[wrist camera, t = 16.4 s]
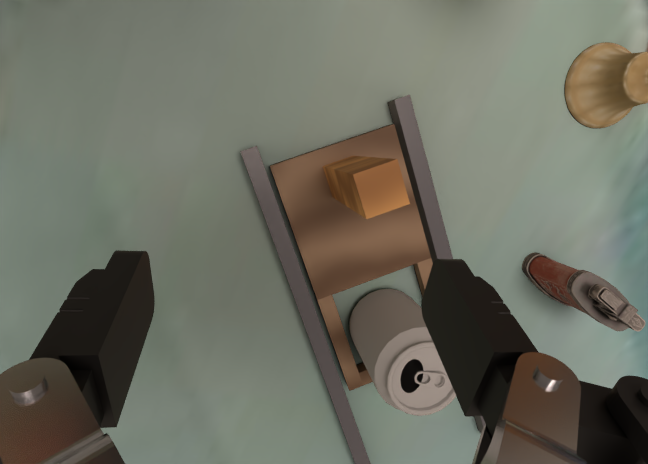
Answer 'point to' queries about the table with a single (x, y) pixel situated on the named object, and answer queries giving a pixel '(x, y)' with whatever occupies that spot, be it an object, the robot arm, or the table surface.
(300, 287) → the rail
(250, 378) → the table surface
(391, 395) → the can
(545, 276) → the lighter
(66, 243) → the table surface
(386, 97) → the table surface
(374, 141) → the brown post on base
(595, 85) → the hand bell
